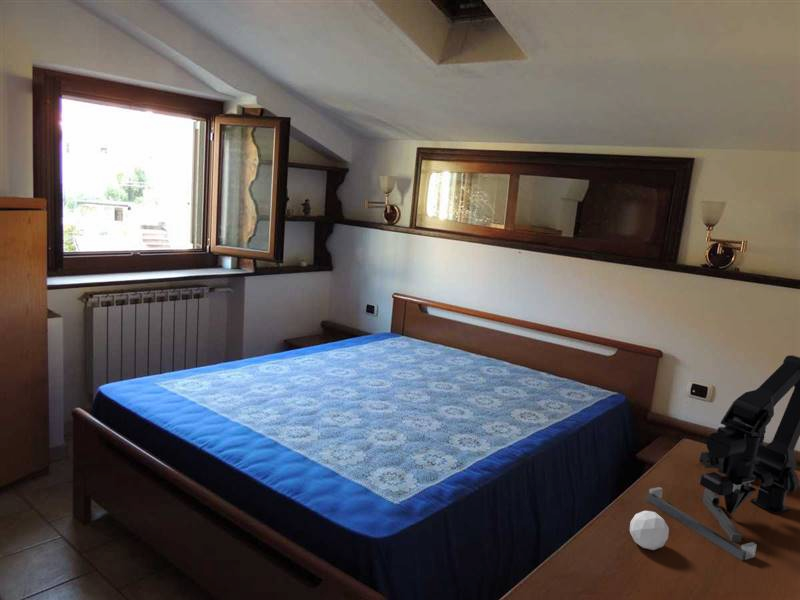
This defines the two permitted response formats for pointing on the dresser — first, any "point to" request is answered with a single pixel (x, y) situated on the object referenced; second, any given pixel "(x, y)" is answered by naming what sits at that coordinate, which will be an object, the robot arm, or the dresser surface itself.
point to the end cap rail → (700, 527)
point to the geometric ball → (649, 530)
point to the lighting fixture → (720, 515)
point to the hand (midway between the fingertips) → (729, 512)
